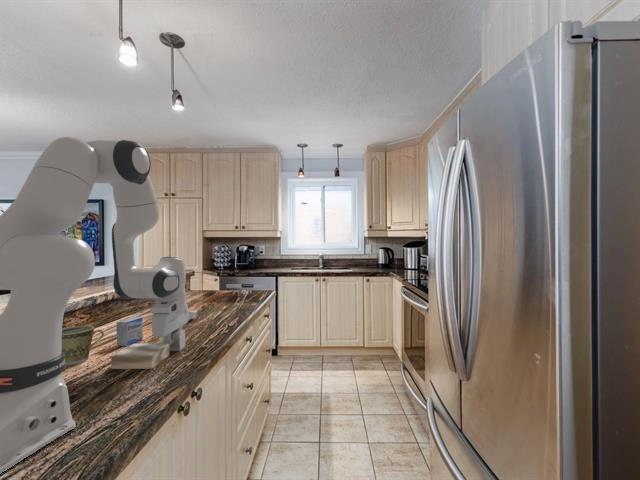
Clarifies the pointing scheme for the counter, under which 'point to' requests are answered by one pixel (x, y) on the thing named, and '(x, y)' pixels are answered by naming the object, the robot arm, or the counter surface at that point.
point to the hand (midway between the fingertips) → (172, 342)
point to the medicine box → (129, 331)
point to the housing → (175, 340)
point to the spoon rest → (191, 315)
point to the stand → (140, 356)
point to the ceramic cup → (77, 343)
